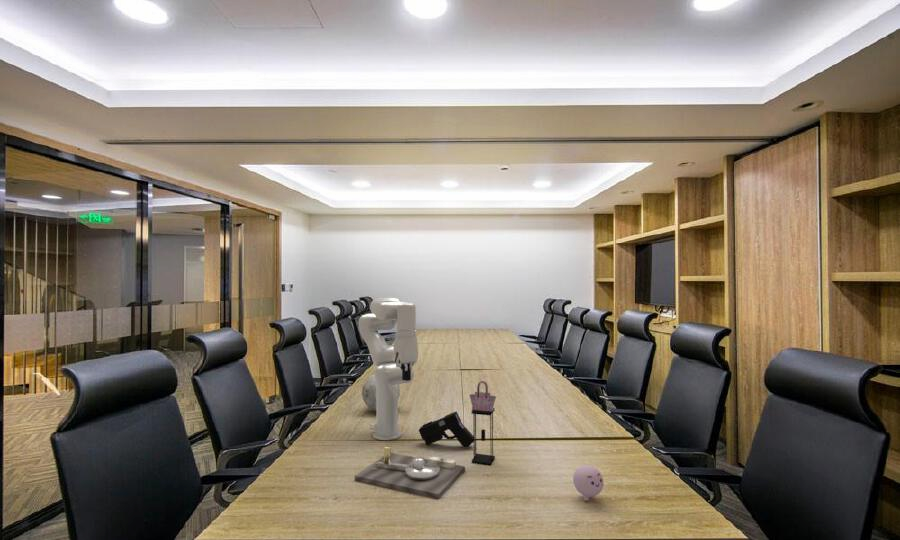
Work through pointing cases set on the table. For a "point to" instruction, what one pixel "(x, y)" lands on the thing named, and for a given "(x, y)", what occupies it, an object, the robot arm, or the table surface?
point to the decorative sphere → (373, 392)
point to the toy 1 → (449, 422)
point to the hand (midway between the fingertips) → (406, 380)
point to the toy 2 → (588, 481)
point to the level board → (404, 483)
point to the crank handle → (412, 466)
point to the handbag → (482, 406)
